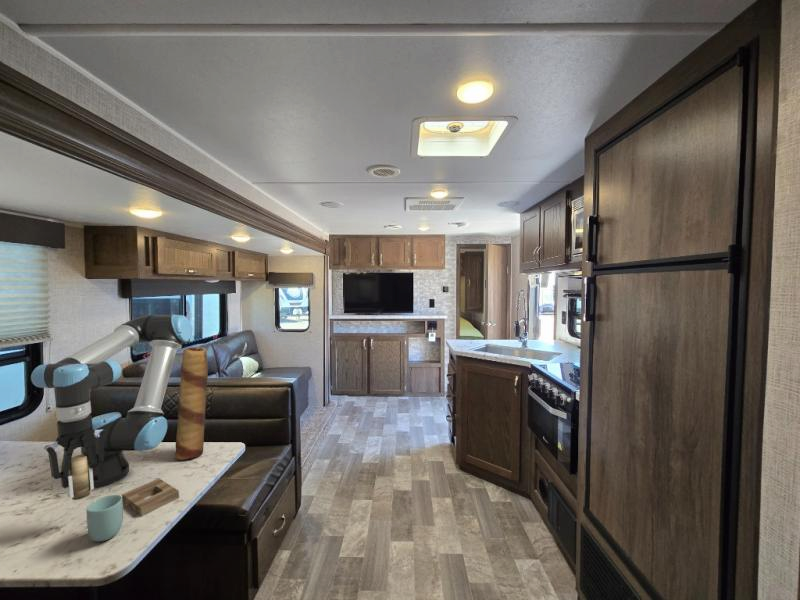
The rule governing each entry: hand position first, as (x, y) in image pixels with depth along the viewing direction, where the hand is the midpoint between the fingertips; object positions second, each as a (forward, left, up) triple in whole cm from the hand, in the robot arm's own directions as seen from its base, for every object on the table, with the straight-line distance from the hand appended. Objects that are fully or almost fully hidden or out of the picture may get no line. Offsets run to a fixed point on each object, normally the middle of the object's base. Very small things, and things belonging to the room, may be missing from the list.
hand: (80, 491), depth 105 cm
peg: (0, 0, -1) cm, 1 cm away
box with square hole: (+4, +16, -10) cm, 20 cm away
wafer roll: (-15, +39, -10) cm, 43 cm away
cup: (+12, +2, -10) cm, 16 cm away
